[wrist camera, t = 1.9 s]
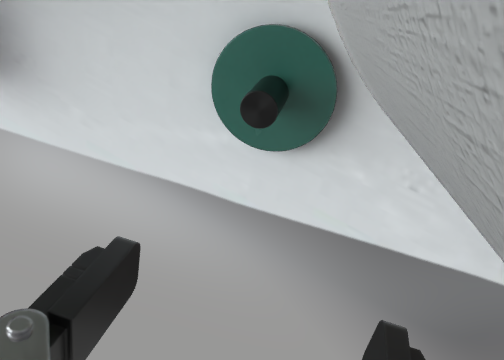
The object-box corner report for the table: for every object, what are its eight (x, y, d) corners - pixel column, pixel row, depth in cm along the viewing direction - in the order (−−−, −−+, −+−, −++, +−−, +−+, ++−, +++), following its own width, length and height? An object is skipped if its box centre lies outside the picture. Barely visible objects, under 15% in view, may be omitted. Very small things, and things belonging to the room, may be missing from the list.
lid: (226, 9, 29) (200, 15, 24) (354, 41, 28) (353, 55, 23) (207, 128, 33) (181, 155, 28) (317, 160, 32) (310, 193, 27)
